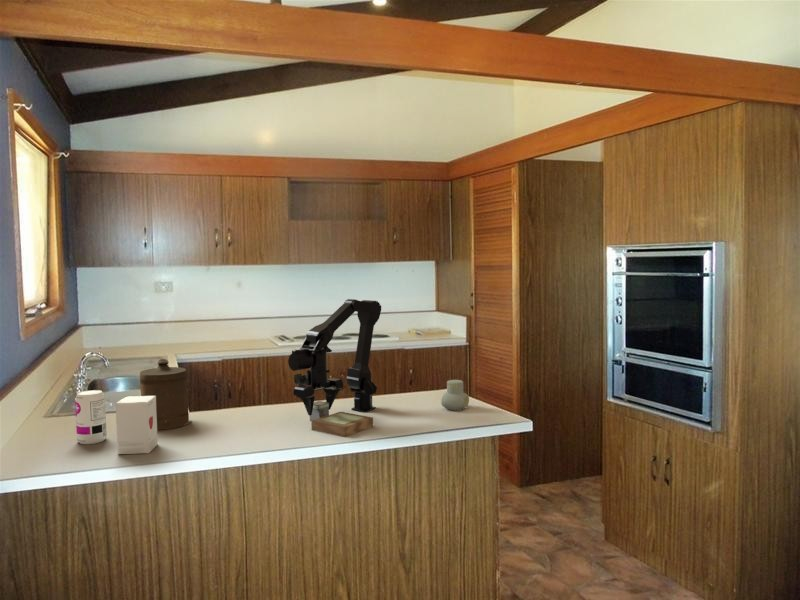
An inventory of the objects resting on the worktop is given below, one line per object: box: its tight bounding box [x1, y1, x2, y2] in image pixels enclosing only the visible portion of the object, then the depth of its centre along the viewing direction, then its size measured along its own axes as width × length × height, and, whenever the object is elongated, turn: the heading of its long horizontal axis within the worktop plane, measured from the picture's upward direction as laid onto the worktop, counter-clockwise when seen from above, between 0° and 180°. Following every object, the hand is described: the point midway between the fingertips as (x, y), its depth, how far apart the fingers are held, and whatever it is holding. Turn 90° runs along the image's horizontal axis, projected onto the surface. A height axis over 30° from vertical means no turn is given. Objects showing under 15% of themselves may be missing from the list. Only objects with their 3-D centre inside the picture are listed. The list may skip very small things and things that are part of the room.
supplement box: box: [115, 395, 159, 455], centre depth 185 cm, size 9×9×15 cm
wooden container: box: [139, 358, 190, 431], centre depth 212 cm, size 15×15×22 cm
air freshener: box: [440, 379, 470, 411], centre depth 229 cm, size 11×8×10 cm
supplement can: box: [74, 389, 108, 445], centre depth 194 cm, size 8×8×15 cm
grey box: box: [308, 400, 330, 422], centre depth 215 cm, size 5×5×6 cm
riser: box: [310, 411, 374, 438], centre depth 205 cm, size 14×14×3 cm
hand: (319, 412), depth 215 cm, fingers open, 9 cm apart
